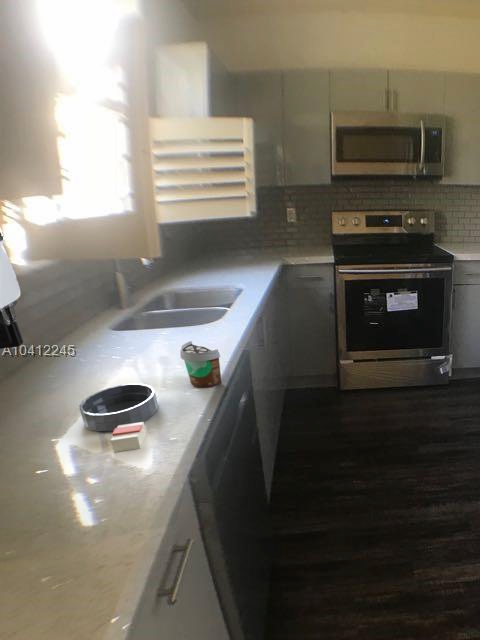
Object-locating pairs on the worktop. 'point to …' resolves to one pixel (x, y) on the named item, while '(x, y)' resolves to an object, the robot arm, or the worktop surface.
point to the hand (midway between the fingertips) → (11, 345)
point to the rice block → (128, 436)
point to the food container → (201, 365)
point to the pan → (118, 406)
